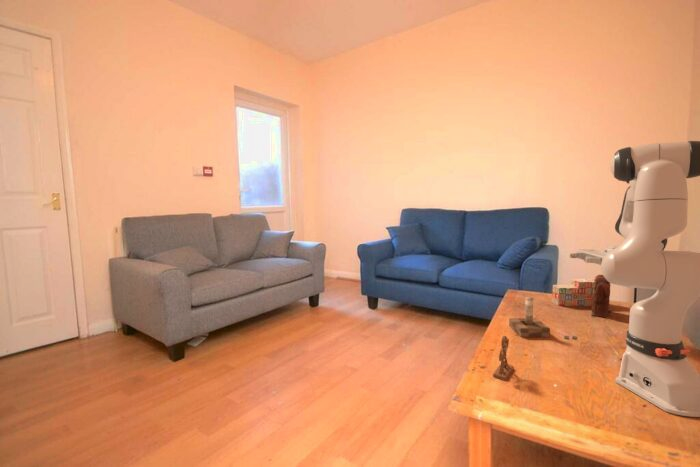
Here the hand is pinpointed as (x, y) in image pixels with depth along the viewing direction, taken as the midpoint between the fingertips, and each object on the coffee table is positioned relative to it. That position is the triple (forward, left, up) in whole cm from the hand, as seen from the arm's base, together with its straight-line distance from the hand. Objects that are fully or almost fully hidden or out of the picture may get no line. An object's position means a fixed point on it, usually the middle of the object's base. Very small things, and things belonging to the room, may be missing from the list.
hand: (577, 257), depth 131 cm
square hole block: (0, +18, -30) cm, 35 cm away
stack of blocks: (+34, -21, -30) cm, 50 cm away
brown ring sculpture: (-32, +40, -30) cm, 60 cm away
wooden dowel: (0, +18, -30) cm, 35 cm away
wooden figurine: (+20, -23, -30) cm, 43 cm away
